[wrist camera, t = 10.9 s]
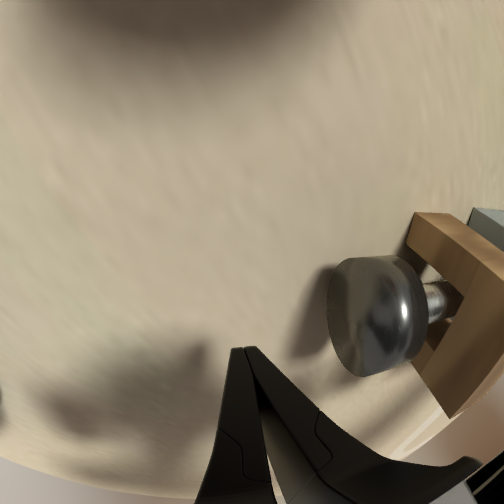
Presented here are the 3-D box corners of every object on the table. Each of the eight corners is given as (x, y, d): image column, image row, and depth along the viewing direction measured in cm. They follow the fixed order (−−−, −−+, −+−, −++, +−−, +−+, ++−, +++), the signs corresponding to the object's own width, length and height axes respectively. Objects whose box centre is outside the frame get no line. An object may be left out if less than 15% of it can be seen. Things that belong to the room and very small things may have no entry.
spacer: (449, 213, 14) (553, 295, 8) (412, 310, 18) (482, 398, 11) (414, 212, 14) (532, 307, 7) (378, 318, 17) (449, 419, 11)
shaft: (493, 232, 16) (543, 271, 12) (468, 292, 18) (509, 334, 14) (341, 236, 13) (408, 309, 9) (318, 322, 15) (361, 399, 11)
